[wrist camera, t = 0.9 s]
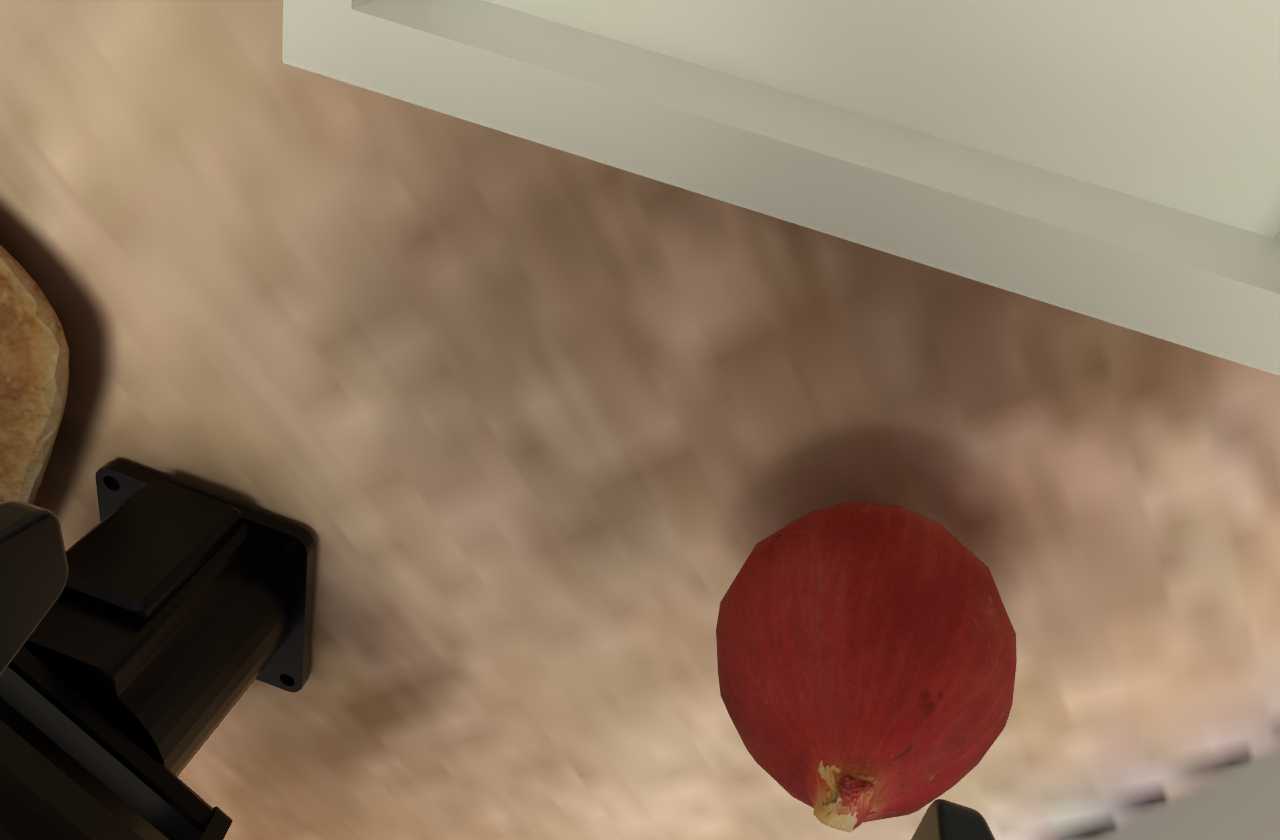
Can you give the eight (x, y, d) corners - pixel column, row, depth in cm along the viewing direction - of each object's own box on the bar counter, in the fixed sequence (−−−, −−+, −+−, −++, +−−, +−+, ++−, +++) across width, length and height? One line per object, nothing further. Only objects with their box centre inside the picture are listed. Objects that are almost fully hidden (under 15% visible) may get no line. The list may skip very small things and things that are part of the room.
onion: (1038, 611, 23) (1076, 938, 16) (802, 652, 25) (752, 950, 19) (958, 400, 21) (966, 678, 14) (710, 467, 23) (616, 730, 16)
